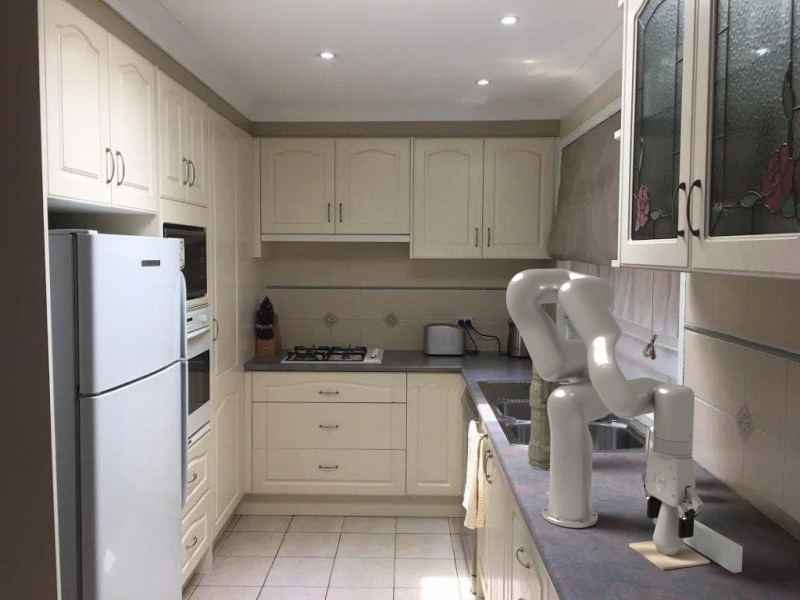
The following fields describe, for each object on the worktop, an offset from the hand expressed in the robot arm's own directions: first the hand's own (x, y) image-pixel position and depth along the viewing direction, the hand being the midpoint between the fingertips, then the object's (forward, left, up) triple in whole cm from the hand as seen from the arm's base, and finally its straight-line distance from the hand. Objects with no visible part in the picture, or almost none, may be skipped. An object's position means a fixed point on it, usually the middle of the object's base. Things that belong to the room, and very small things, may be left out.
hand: (669, 527), depth 134 cm
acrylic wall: (-2, +8, -6) cm, 10 cm away
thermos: (-57, +2, -6) cm, 57 cm away
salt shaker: (0, 0, -5) cm, 5 cm away
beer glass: (-36, +25, -6) cm, 44 cm away
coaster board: (0, 0, -6) cm, 6 cm away
